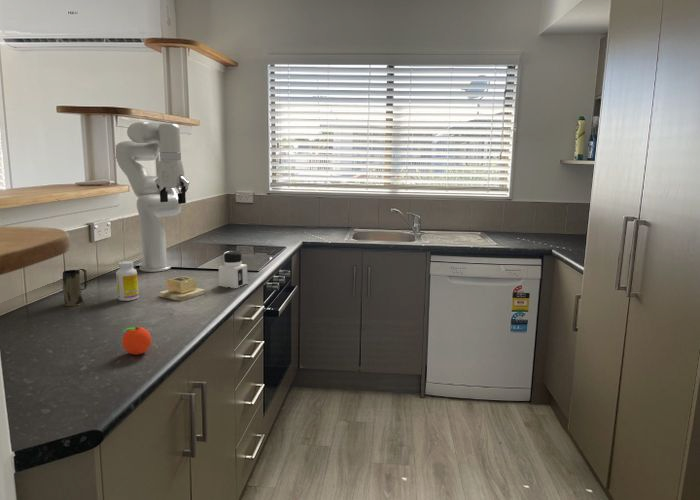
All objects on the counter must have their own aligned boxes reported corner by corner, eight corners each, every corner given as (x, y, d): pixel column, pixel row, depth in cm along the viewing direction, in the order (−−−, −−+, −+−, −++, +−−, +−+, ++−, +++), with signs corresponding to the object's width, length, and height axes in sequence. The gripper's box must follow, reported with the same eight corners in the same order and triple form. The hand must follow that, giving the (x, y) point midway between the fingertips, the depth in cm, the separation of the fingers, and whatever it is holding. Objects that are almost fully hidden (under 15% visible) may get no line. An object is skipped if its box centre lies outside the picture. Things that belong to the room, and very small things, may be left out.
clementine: (114, 359, 133) (112, 331, 131) (124, 348, 140) (122, 322, 138) (147, 358, 133) (145, 331, 132) (155, 348, 140) (154, 322, 139)
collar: (167, 290, 187) (166, 279, 187) (182, 286, 193) (181, 275, 192) (181, 293, 184) (180, 282, 183) (196, 289, 190) (195, 278, 189)
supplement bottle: (143, 297, 186) (140, 261, 183) (129, 302, 180) (126, 265, 177) (127, 295, 188) (124, 259, 185) (113, 300, 182) (110, 263, 179)
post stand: (159, 296, 187) (158, 279, 186) (183, 289, 196) (182, 273, 195) (181, 301, 182) (180, 284, 180) (205, 293, 191) (204, 277, 190)
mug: (60, 305, 175) (57, 270, 173) (71, 301, 180) (68, 266, 178) (82, 307, 174) (79, 271, 172) (93, 302, 179) (90, 267, 177)
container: (248, 284, 204) (247, 250, 202) (235, 288, 198) (234, 254, 195) (231, 281, 208) (230, 248, 205) (218, 286, 201) (217, 252, 198)
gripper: (146, 156, 202) (149, 202, 205) (179, 157, 193) (181, 205, 196) (162, 156, 208) (165, 200, 211) (194, 157, 199) (196, 203, 203)
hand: (173, 202), depth 204 cm, fingers open, 9 cm apart
